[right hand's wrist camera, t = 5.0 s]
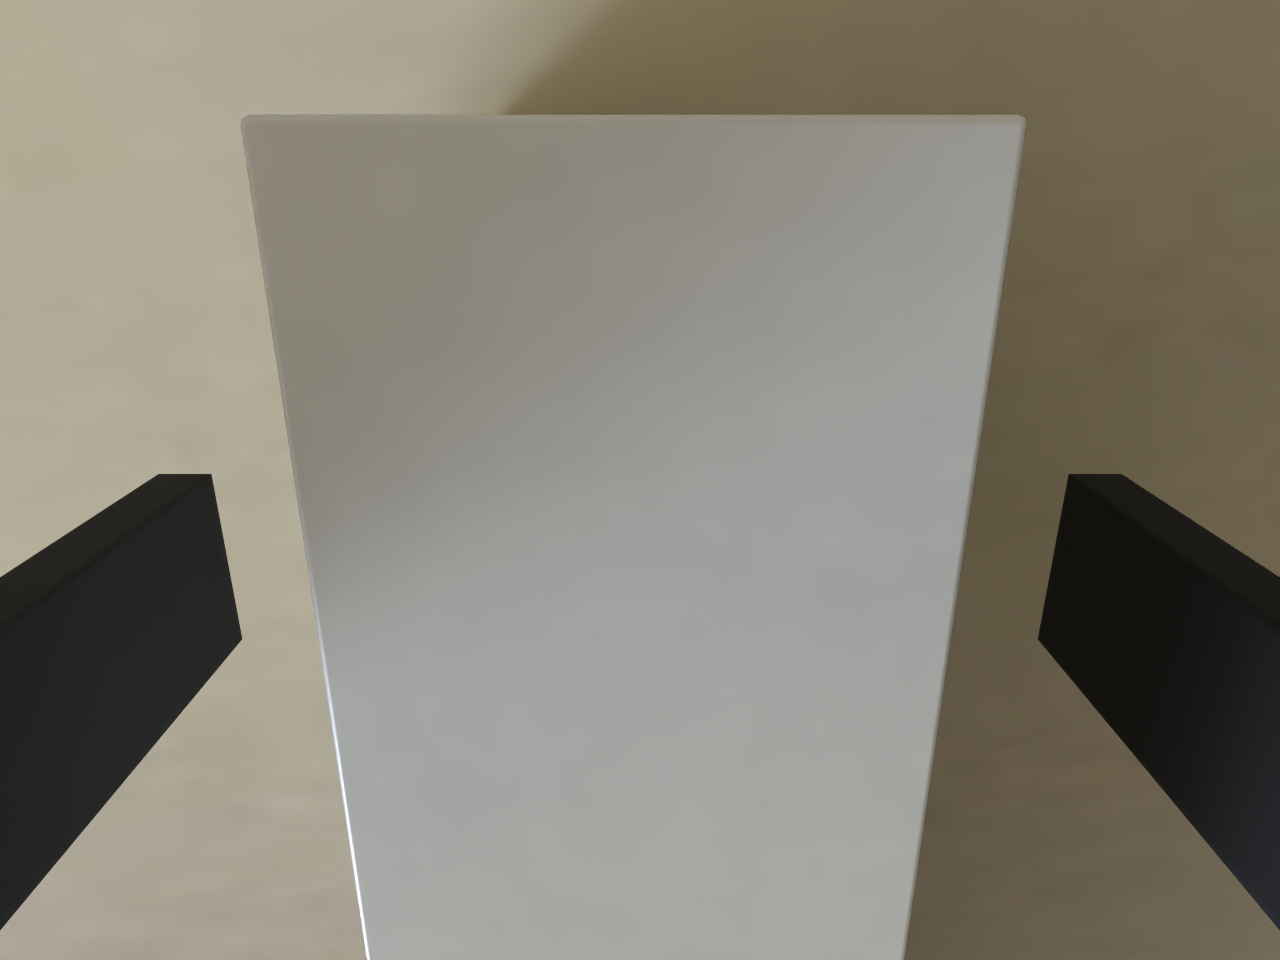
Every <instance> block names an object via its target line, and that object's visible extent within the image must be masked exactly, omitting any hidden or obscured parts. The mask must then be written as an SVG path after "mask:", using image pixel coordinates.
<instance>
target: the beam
mask: <svg viewBox="0 0 1280 960" xmlns="http://www.w3.org/2000/svg"><path fill="white" fill-rule="evenodd" d="M241 130H242V137H243V143H244V150H245V157H246V163H247V170H248V176H249V183H250V190H251V196H252V203H253V209H254V216H255V223H256V229H257V236H258V243H259V249H260V256H261V262H262V269H263V276H264V282H265V289H266V295H267V302H268V309H269V315H270V322H271V328H272V335H273V342H274V348H275V355H276V361H277V368H278V375H279V381H280V388H281V394H282V401H283V408H284V414H285V421H286V428H287V434H288V441H289V447H290V454H291V461H292V467H293V474H294V480H295V487H296V494H297V500H298V507H299V513H300V520H301V527H302V533H303V540H304V546H305V553H306V560H307V566H308V573H309V579H310V586H311V593H312V599H313V606H314V613H315V619H316V626H317V632H318V639H319V646H320V652H321V659H322V665H323V672H324V679H325V685H326V692H327V698H328V705H329V712H330V718H331V725H332V731H333V738H334V745H335V751H336V758H337V764H338V771H339V778H340V784H341V791H342V798H343V804H344V811H345V817H346V824H347V831H348V837H349V844H350V850H351V857H352V864H353V870H354V877H355V883H356V890H357V897H358V903H359V910H360V916H361V923H362V930H363V936H364V943H365V949H366V956H367V960H904V957H905V951H906V944H907V937H908V930H909V923H910V917H911V910H912V903H913V896H914V889H915V882H916V876H917V869H918V862H919V855H920V848H921V841H922V835H923V828H924V821H925V814H926V807H927V800H928V794H929V787H930V780H931V773H932V766H933V759H934V753H935V746H936V739H937V732H938V725H939V718H940V712H941V705H942V698H943V691H944V684H945V677H946V671H947V664H948V657H949V650H950V643H951V637H952V630H953V623H954V616H955V609H956V602H957V596H958V589H959V582H960V575H961V568H962V561H963V555H964V548H965V541H966V534H967V527H968V520H969V514H970V507H971V500H972V493H973V486H974V479H975V473H976V466H977V459H978V452H979V445H980V438H981V432H982V425H983V418H984V411H985V404H986V397H987V391H988V384H989V377H990V370H991V363H992V357H993V350H994V343H995V336H996V329H997V322H998V316H999V309H1000V302H1001V295H1002V288H1003V281H1004V275H1005V268H1006V261H1007V254H1008V247H1009V240H1010V234H1011V227H1012V220H1013V213H1014V206H1015V199H1016V193H1017V186H1018V179H1019V172H1020V165H1021V158H1022V152H1023V145H1024V138H1025V131H1026V119H1025V118H1024V117H1022V116H1020V115H248V116H246V117H244V118H242V120H241Z"/></svg>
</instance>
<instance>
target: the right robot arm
mask: <svg viewBox="0 0 1280 960" xmlns="http://www.w3.org/2000/svg"><path fill="white" fill-rule="evenodd" d="M241 640H242V635H241V630H240V625H239V619H238V614H237V609H236V603H235V598H234V593H233V587H232V582H231V577H230V571H229V566H228V561H227V555H226V550H225V545H224V539H223V534H222V529H221V523H220V518H219V513H218V507H217V502H216V497H215V491H214V486H213V481H212V475H211V474H158V475H157V476H155V477H153V478H152V479H150V480H149V481H147V482H146V483H144V484H143V485H141V486H140V487H138V488H137V489H135V490H134V491H132V492H130V493H129V494H127V495H126V496H124V497H123V498H121V499H120V500H118V501H117V502H115V503H114V504H112V505H111V506H109V507H107V508H106V509H104V510H103V511H101V512H100V513H98V514H97V515H95V516H94V517H92V518H91V519H89V520H88V521H86V522H84V523H83V524H81V525H80V526H78V527H77V528H75V529H74V530H72V531H71V532H69V533H68V534H66V535H64V536H63V537H61V538H60V539H58V540H57V541H55V542H54V543H52V544H51V545H49V546H48V547H46V548H45V549H43V550H41V551H40V552H38V553H37V554H35V555H34V556H32V557H31V558H29V559H28V560H26V561H25V562H23V563H22V564H20V565H18V566H17V567H15V568H14V569H12V570H11V571H9V572H8V573H6V574H5V575H3V576H2V577H0V930H1V929H2V927H3V926H4V925H5V924H6V923H7V921H8V920H9V919H10V918H11V917H12V915H13V914H14V913H15V912H16V911H17V909H18V908H19V907H20V906H21V905H22V903H23V902H24V901H25V900H26V899H27V897H28V896H29V895H30V894H31V893H32V891H33V890H34V889H35V888H36V887H37V885H38V884H39V883H40V882H41V881H42V879H43V878H44V877H45V876H46V875H47V873H48V872H49V871H50V870H51V869H52V867H53V866H54V865H55V864H56V863H57V861H58V860H59V859H60V858H61V856H62V855H63V854H64V853H65V852H66V850H67V849H68V848H69V847H70V846H71V844H72V843H73V842H74V841H75V840H76V838H77V837H78V836H79V835H80V834H81V832H82V831H83V830H84V829H85V828H86V826H87V825H88V824H89V823H90V822H91V820H92V819H93V818H94V817H95V816H96V814H97V813H98V812H99V811H100V810H101V808H102V807H103V806H104V805H105V804H106V802H107V801H108V800H109V799H110V798H111V796H112V795H113V794H114V793H115V792H116V790H117V789H118V788H119V787H120V786H121V784H122V783H123V782H124V781H125V779H126V778H127V777H128V776H129V775H130V773H131V772H132V771H133V770H134V769H135V767H136V766H137V765H138V764H139V763H140V761H141V760H142V759H143V758H144V757H145V755H146V754H147V753H148V752H149V751H150V749H151V748H152V747H153V746H154V745H155V743H156V742H157V741H158V740H159V739H160V737H161V736H162V735H163V734H164V733H165V731H166V730H167V729H168V728H169V727H170V725H171V724H172V723H173V722H174V721H175V719H176V718H177V717H178V716H179V715H180V713H181V712H182V711H183V710H184V708H185V707H186V706H187V705H188V704H189V702H190V701H191V700H192V699H193V698H194V696H195V695H196V694H197V693H198V692H199V690H200V689H201V688H202V687H203V686H204V684H205V683H206V682H207V681H208V680H209V678H210V677H211V676H212V675H213V674H214V672H215V671H216V670H217V669H218V668H219V666H220V665H221V664H222V663H223V662H224V660H225V659H226V658H227V657H228V656H229V654H230V653H231V652H232V651H233V650H234V648H235V647H236V646H237V645H238V644H239V642H240V641H241ZM1038 640H1039V641H1040V642H1041V643H1042V645H1043V646H1044V647H1045V648H1046V650H1047V651H1048V652H1049V653H1050V654H1051V656H1052V657H1053V658H1054V659H1055V660H1056V662H1057V663H1058V664H1059V665H1060V666H1061V668H1062V669H1063V670H1064V671H1065V672H1066V674H1067V675H1068V676H1069V677H1070V678H1071V680H1072V681H1073V682H1074V683H1075V684H1076V686H1077V687H1078V688H1079V689H1080V690H1081V692H1082V693H1083V694H1084V695H1085V696H1086V698H1087V699H1088V700H1089V701H1090V702H1091V704H1092V705H1093V706H1094V707H1095V708H1096V710H1097V711H1098V712H1099V713H1100V714H1101V716H1102V717H1103V718H1104V719H1105V720H1106V722H1107V723H1108V724H1109V725H1110V727H1111V728H1112V729H1113V730H1114V731H1115V733H1116V734H1117V735H1118V736H1119V737H1120V739H1121V740H1122V741H1123V742H1124V743H1125V745H1126V746H1127V747H1128V748H1129V749H1130V751H1131V752H1132V753H1133V754H1134V755H1135V757H1136V758H1137V759H1138V760H1139V761H1140V763H1141V764H1142V765H1143V766H1144V767H1145V769H1146V770H1147V771H1148V772H1149V773H1150V775H1151V776H1152V777H1153V778H1154V779H1155V781H1156V782H1157V783H1158V784H1159V785H1160V787H1161V788H1162V789H1163V790H1164V791H1165V793H1166V794H1167V795H1168V796H1169V798H1170V799H1171V800H1172V801H1173V802H1174V804H1175V805H1176V806H1177V807H1178V808H1179V810H1180V811H1181V812H1182V813H1183V814H1184V816H1185V817H1186V818H1187V819H1188V820H1189V822H1190V823H1191V824H1192V825H1193V826H1194V828H1195V829H1196V830H1197V831H1198V832H1199V834H1200V835H1201V836H1202V837H1203V838H1204V840H1205V841H1206V842H1207V843H1208V844H1209V846H1210V847H1211V848H1212V849H1213V850H1214V852H1215V853H1216V854H1217V855H1218V856H1219V858H1220V859H1221V860H1222V861H1223V862H1224V864H1225V865H1226V866H1227V867H1228V868H1229V870H1230V871H1231V872H1232V873H1233V875H1234V876H1235V877H1236V878H1237V879H1238V881H1239V882H1240V883H1241V884H1242V885H1243V887H1244V888H1245V889H1246V890H1247V891H1248V893H1249V894H1250V895H1251V896H1252V897H1253V899H1254V900H1255V901H1256V902H1257V903H1258V905H1259V906H1260V907H1261V908H1262V909H1263V911H1264V912H1265V913H1266V914H1267V915H1268V917H1269V918H1270V919H1271V920H1272V921H1273V923H1274V924H1275V925H1276V926H1277V927H1278V929H1279V930H1280V577H1278V576H1277V575H1275V574H1274V573H1272V572H1271V571H1269V570H1268V569H1266V568H1265V567H1263V566H1262V565H1260V564H1258V563H1257V562H1255V561H1254V560H1252V559H1251V558H1249V557H1248V556H1246V555H1245V554H1243V553H1242V552H1240V551H1239V550H1237V549H1235V548H1234V547H1232V546H1231V545H1229V544H1228V543H1226V542H1225V541H1223V540H1222V539H1220V538H1219V537H1217V536H1216V535H1214V534H1212V533H1211V532H1209V531H1208V530H1206V529H1205V528H1203V527H1202V526H1200V525H1199V524H1197V523H1196V522H1194V521H1193V520H1191V519H1189V518H1188V517H1186V516H1185V515H1183V514H1182V513H1180V512H1179V511H1177V510H1176V509H1174V508H1173V507H1171V506H1169V505H1168V504H1166V503H1165V502H1163V501H1162V500H1160V499H1159V498H1157V497H1156V496H1154V495H1153V494H1151V493H1150V492H1148V491H1146V490H1145V489H1143V488H1142V487H1140V486H1139V485H1137V484H1136V483H1134V482H1133V481H1131V480H1130V479H1128V478H1127V477H1125V476H1123V475H1122V474H1069V475H1068V481H1067V486H1066V491H1065V497H1064V502H1063V507H1062V513H1061V518H1060V523H1059V529H1058V534H1057V539H1056V545H1055V550H1054V556H1053V561H1052V566H1051V572H1050V577H1049V582H1048V588H1047V593H1046V598H1045V604H1044V609H1043V614H1042V620H1041V625H1040V630H1039V636H1038Z"/></svg>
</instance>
